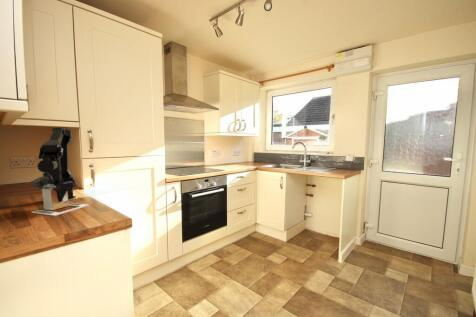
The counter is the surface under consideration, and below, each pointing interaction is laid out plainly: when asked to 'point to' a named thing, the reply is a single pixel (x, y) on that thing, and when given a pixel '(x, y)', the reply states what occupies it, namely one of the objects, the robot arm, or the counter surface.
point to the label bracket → (60, 212)
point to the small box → (53, 199)
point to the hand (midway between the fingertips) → (55, 201)
